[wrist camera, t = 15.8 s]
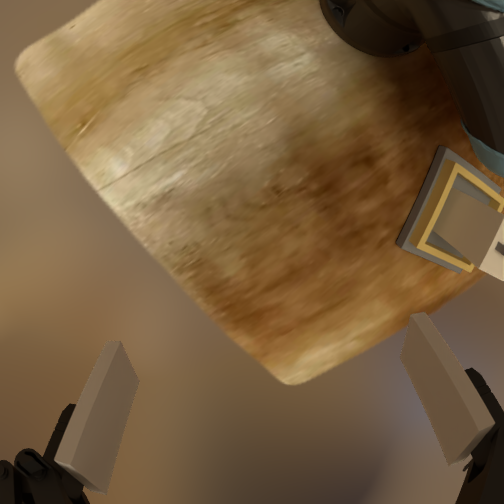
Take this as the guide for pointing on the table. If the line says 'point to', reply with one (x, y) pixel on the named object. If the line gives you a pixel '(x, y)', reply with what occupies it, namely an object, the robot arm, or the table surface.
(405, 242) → the tray
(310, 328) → the table surface
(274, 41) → the table surface
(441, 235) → the beige rectangular block
